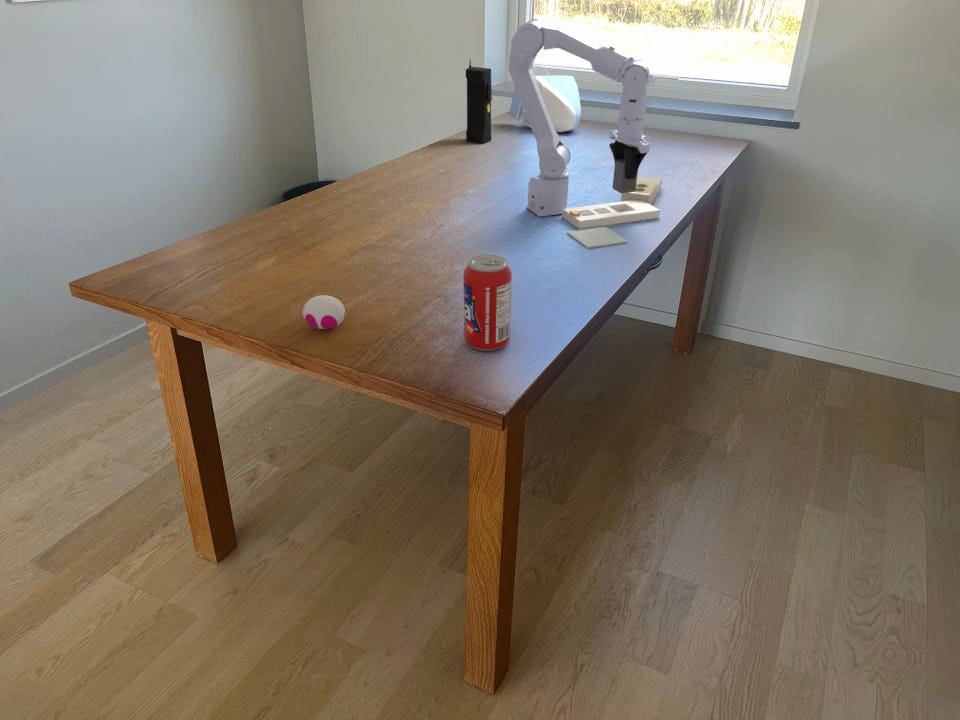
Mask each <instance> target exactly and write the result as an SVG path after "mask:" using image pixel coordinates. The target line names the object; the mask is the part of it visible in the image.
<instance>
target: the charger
mask: <svg viewBox="0 0 960 720" xmlns="http://www.w3.org/2000/svg"><path fill="white" fill-rule="evenodd" d="M625 170H626V164H625V159H619V160H615V162H614V170H613V177H612V178H613V179H612V190H614V191H616V192H618V193H620V194H622V193H628V192H635V191H636V182H637V176H638V174H639V172H638V171H639V170H638V171H637V173H636V176H635V178H634V179H626V174H625Z"/></svg>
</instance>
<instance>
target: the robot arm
mask: <svg viewBox="0 0 960 720" xmlns="http://www.w3.org/2000/svg"><path fill="white" fill-rule="evenodd" d="M510 43H511V44H510V52H509V53H510V54H509V61H508V66H507V67H508V72H509V75H510V77H511V79H512V82H513V85H514V89H515V88H516V90H517V93H518V95H519V98H520V100H521V103H522V106H523V111H524V113H526V116H527V118H528V121H529V123H530V126H531V128H530V129H531V131H532V133H533V136H534V139H535V140H536V149H537V154H538V155H537V156H538V158H539V161H538V162H539V163H538V164H539V165H538V167H539V174H537V176H534V177H533V176H532V177H530V178H529V181H528V188H527V204H526V206H525V207H526V209H528V210H530V211H531V212H532V213H533V214H535V215H536V216H538V217H548V216H550V217H551V216H554V215H555V216H557V215H562V211H563V209H567V208H570V207H569V206H568V196H569V195H568V194H569V182H570V181H569V178H570V172H569V171H568V169H567V165H568V164H569V163H570V161H571V151H570V149H569V148H568V146H567V145H565V144H564V143H563V141H562V138H561V136H560V135H559V134H558V132H556V131H555V129H554V126H553V124H552V121H551V118H550V116H549V113H548V111H547V108H546V105H545V103H544V100H543V97H542V95H541V92H540V89H539V87H538V84H537V82H536V79H535V76H536V75H535V74H534V71H533V68H532V65H533V66H534V62H535V60H536V59H537V56H538V54H539V52H540V51H541V50H542V48H543V50H544V51H546V50H552V49H560V50H561V51H562V50H563V51H565V52H567V53H569V54H571V55H573V56H575V57H578V58H580V59H582V60H584V61H587V62H588V63H590V66H591V68H592V71H593V72H595V73H597V74H600V75H602V76H604V77H606V78H608V79H610V80H612V81H614V82H616V83H621V85H622V95H621V96H620V102H619V103H620V104H619V113H618V124H617V125H618V126H617V129H610V130H609V139H610V140H615V141H614V142H611V143H609V149H610V150H611V153H612V156H613V161H614V163H615V160H619V159H625V164H626V170H625V174H626V179H634V178H635V176H636V173H637V171H639V168H640V166H641V163H642V161H643V160H644V158H645V157H646V156H647V154H648V153H650V147H651V145H650V143H648V142H647V141H646V139H647V137H646V136H645V135H643V130H644V123H645V116H646V105H647V92H648V88H647V86H648V84H649V78H650V69H649V67H648V65H647V64H646V62H643V60H641V59H635V56H633V55H630V56H627V55H625V54H623V53H622V52H620V51H617V50H616V46H615V45H613V44H610V45H609V46H608V45H602V46H599V47H595V46H594V45H592V44H590V43H588V42H586V41H584V40H582V39H581V38H579V37H578V36H575V35H574V34H572V33H570V32H568V31H566V30H564V29H562V28H561V27H559V26H557V25H555V24H552V23H549V22H547V23H545V21H543V20H542V19H539V18H533V19H529V20H528V21H527V22H526V23H523V24H521V25H520V26H519V27H518V28H517V29H516V30H515V32H514V35H513V36H512V39H511V40H510ZM637 174H638V173H637Z"/></svg>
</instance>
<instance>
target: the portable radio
mask: <svg viewBox="0 0 960 720" xmlns="http://www.w3.org/2000/svg"><path fill="white" fill-rule="evenodd" d="M465 79H466V131H465V132H466V133H465V141H466V142H467V143H476V144H482V143H483V144H485V143H488V142H491V141H492V100H493V97H492V96H493V95H492V94H493V92H492V69H491V68H490V67H489V68H488V67H487V68H486V67H478V66H472V60H469V66H468V68H466V69H465Z"/></svg>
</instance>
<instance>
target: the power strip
mask: <svg viewBox="0 0 960 720" xmlns="http://www.w3.org/2000/svg"><path fill="white" fill-rule="evenodd" d="M660 214H661V209H659V208H657V207H655V206H653V205H652V204H651V205H650V204H648V203H647V202H645V201H641V200H629V201H621V200H620V201H615V202H607V203H599V204H593V205H592V204H591V205H584V206H577V207H576V206H575V207H569V208H567V209H563V211H562V214H561V217H562V218H563V219H564V220H566V221H567V222H569V223H570V224H571V225H573V227H576V228H577V229H578V230H584V229H591V228H598V227H606V226H612V225H618V224H624V223H625V224H626V223H633V221H634V222H639V221H640V220H641V221H648V220H654V219H659V218H660ZM647 219H648V220H647ZM641 221H640V222H641Z"/></svg>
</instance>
